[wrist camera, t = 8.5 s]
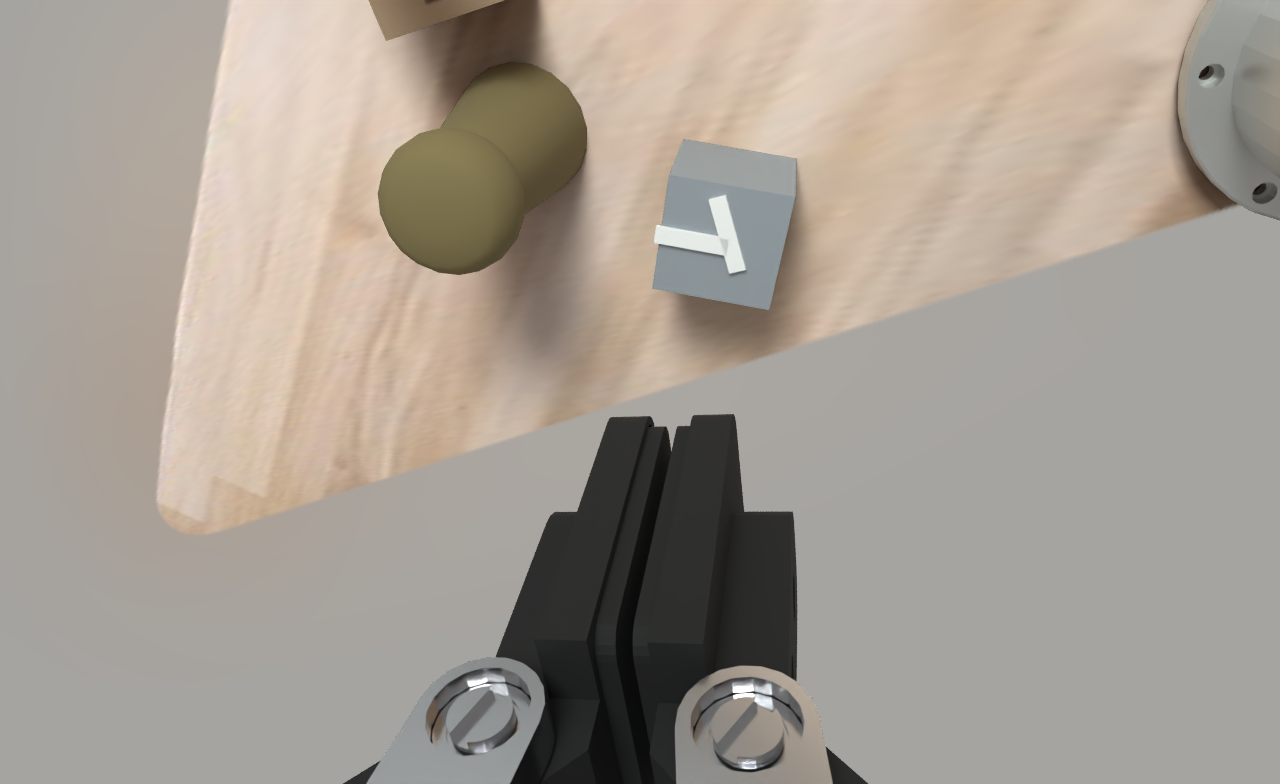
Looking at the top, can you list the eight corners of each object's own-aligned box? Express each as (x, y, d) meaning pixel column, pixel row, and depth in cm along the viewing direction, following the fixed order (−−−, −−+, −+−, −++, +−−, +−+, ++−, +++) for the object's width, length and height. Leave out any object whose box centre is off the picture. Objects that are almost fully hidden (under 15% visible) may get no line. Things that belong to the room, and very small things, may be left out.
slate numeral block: (796, 158, 38) (795, 198, 34) (772, 262, 41) (769, 312, 37) (679, 137, 39) (663, 175, 34) (663, 242, 42) (647, 289, 37)
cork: (550, 221, 42) (478, 328, 33) (437, 152, 41) (329, 243, 32) (611, 111, 39) (550, 195, 29) (489, 34, 38) (387, 96, 28)
